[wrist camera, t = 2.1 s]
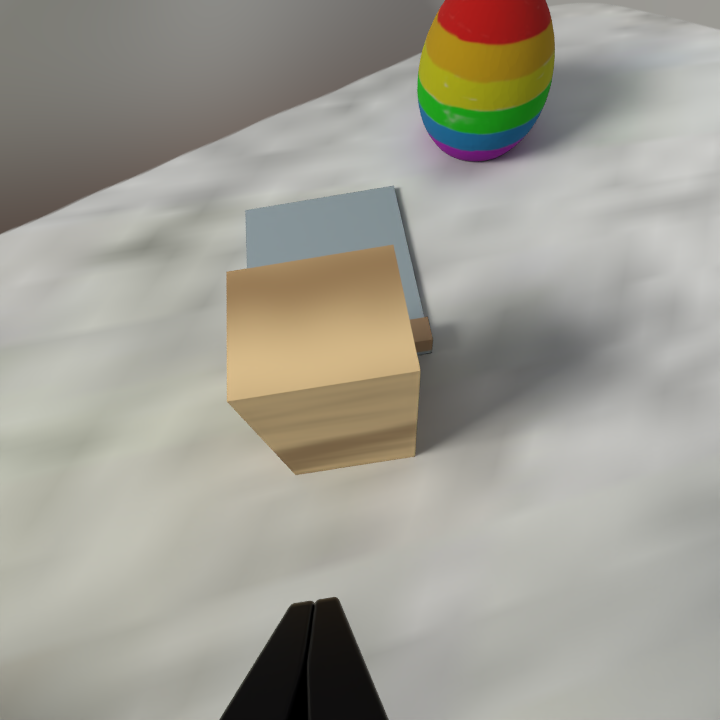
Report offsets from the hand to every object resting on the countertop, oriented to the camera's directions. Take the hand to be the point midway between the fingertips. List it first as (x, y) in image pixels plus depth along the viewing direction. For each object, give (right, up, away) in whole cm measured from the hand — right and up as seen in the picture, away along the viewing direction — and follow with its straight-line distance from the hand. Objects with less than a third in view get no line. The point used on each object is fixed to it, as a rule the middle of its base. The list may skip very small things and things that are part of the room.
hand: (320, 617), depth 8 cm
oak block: (0, +1, +16) cm, 16 cm away
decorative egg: (+9, +20, +25) cm, 33 cm away
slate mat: (-1, +10, +20) cm, 22 cm away
